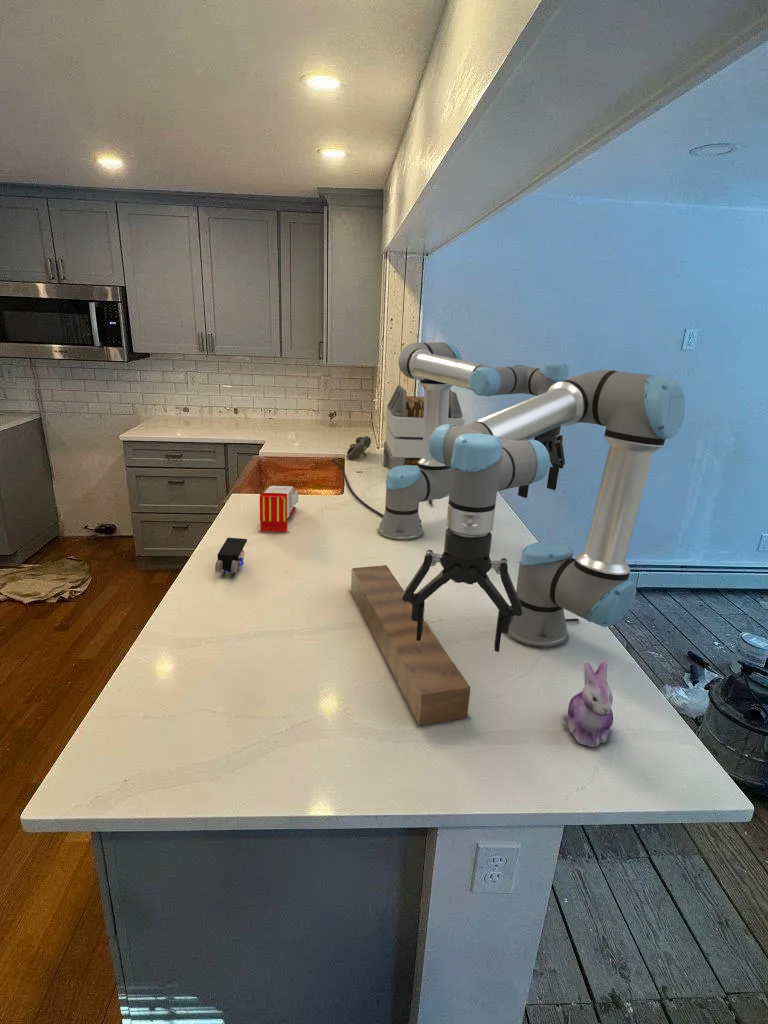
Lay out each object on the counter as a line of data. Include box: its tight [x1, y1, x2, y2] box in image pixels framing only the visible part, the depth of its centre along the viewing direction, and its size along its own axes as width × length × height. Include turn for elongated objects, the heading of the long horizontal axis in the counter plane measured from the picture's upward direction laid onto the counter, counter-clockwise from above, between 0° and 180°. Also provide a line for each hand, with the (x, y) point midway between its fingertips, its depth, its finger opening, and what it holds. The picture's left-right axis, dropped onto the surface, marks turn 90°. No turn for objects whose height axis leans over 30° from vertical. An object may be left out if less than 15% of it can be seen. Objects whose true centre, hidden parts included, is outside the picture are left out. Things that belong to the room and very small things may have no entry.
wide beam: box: [350, 564, 471, 727], centre depth 133 cm, size 56×10×7 cm, turn 17°
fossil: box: [346, 435, 372, 461], centre depth 300 cm, size 22×10×15 cm
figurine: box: [566, 660, 614, 748], centre depth 106 cm, size 9×10×15 cm
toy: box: [259, 485, 299, 533], centre depth 208 cm, size 12×13×30 cm
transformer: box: [383, 384, 465, 471], centre depth 268 cm, size 34×33×41 cm
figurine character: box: [214, 537, 248, 578], centre depth 166 cm, size 7×8×15 cm
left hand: (537, 492), depth 164 cm, fingers open, 13 cm apart
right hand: (457, 642), depth 100 cm, fingers open, 13 cm apart
